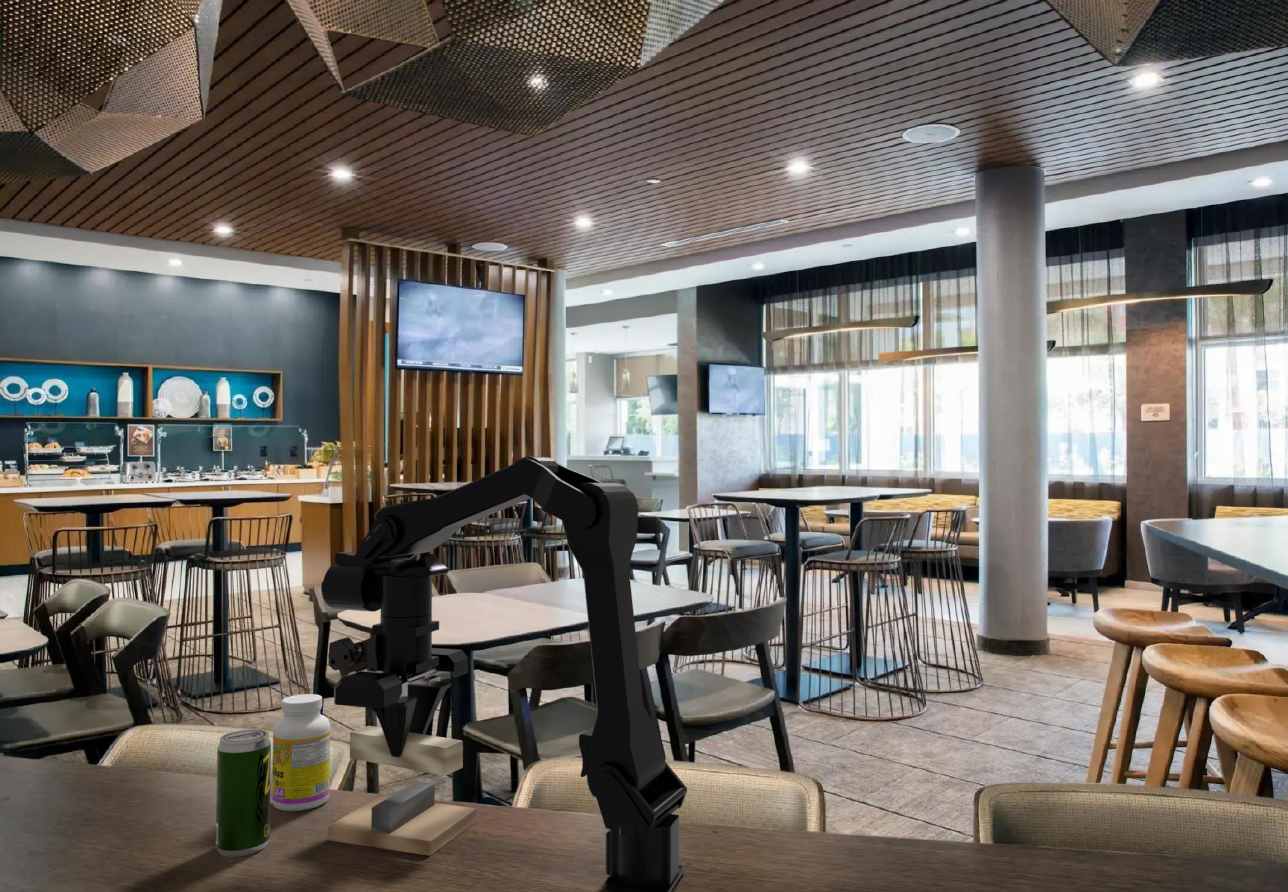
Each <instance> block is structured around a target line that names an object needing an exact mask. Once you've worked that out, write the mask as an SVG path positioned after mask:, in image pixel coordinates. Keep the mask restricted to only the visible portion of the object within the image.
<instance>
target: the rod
mask: <svg viewBox="0 0 1288 892" xmlns="http://www.w3.org/2000/svg"><path fill="white" fill-rule="evenodd" d="M463 743H464V741H463V740H461V739H455V738H448V737H442V736H436V735H430V734H429V735H428V734H425V735H424V734H418V733H412V732H408V735H407V739H406V743H405V746H404V749H403V752H402V755H401V756H400V757H393V756H391V753H390V750H389V748H388V745H387V742H386V739H385V736H384V733H383V730H382V727H381V726H373V725H367V726H363V727H361V728H358V729H355V730H352V731H349V759H352V760H357V761H363V762H369V763H374V764H380V765H385V766H390V767H391V766H392V767H396V768H401V769H408V770H413V771H418V772H424V773H429V774H434V775H441V776H444V777H445V776H448V775H450V774H453V773H454V772H457V771H458V770H460V769H461V770H462V769H463V768H464V766H463V765H464V763H463V761H464V757H463V756H464V745H463Z"/></svg>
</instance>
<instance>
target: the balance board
mask: <svg viewBox="0 0 1288 892" xmlns="http://www.w3.org/2000/svg"><path fill="white" fill-rule="evenodd" d="M435 784H436V783H433V782H427V781H418V780H417V781H415V782H413V783H411V784H410V785H408V786H406V787H405V788H403V789H401V790H399V791H398V792H396V793H394V794H393V795H391V796H383V795H382V796H383V797H380V796H379V797H377V798H375V799H373V800H372V801H370V802H368V803H367V804H364V805H363V806H361V807H359V808H358V809H355V810H354V811H353V812H351V813H349V814H347V815H345V816H343V817H342V818H341V819H339V820H336V821H335V822H333V823H332V824H329V825H328V826H327V841H331V842H337V843H343V844H349V845H357V846H363V847H370V848H377V849H383V850H391V851H396V852H404V853H411V854H416V855H417V854H418V855H424V856H432V855H434V854H435V853H436V852H437V851H438V850H440V849H441V848H443V847H444V846H445V845H447V844H449V842H451V841H452V840H453V839H455V838H456V837H458V836H459V835H460V834H461V833H463V832H465V831H466V830H467V829H469V828H470V827H472V826H473V825H474V824H475V823H476V822H477V818H478V817H477V813H478V812H477V808H476V807H468V806H460V805H453V804H444V803H437V802H436V799H435V797H436V796H435V794H436V793H435V792H436V791H435V787H436V786H435Z"/></svg>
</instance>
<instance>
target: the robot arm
mask: <svg viewBox="0 0 1288 892" xmlns="http://www.w3.org/2000/svg"><path fill="white" fill-rule="evenodd" d="M529 499H532V501H533V502H535V503H536V504H537V505H538V506H539V507H540V508H541V509H542V510H543V511H545V512H546V513H548V514H550V515H551V516H554V517H555V518H557V519H559V520H560V521H561V523H562V527H563V531H564V536H565V538H566V541H567V547H568V548H569V551H571V553H572V555H573V557H574V559H575V561H576V563H577V564H578V566H579V567H580V569H581V571H582V575H583V585H584V593H585V605H586V611H587V612H586V613H587V622H588V623H587V624H588V634H589V635H588V636H589V642H590V652H591V654H590V655H591V663H592V672H593V682H594V683H593V684H594V692H595V703H596V716H595V717H596V718H595V721H594V724H593V726H592V727H591V728H590V729H588V730H586V731H584V732H582V733H580V734H579V736H578V746H579V751H580V753H581V759H582V760H581V761H582V766H581V767H582V768H581V772H580V777H581V778H585V777H586V783H587V786H588V787H587V788H588V790H589V792H590V794H591V796H592V797H593V798H596V801H597V804H598V808H599V812H600V815H601V818H602V821H603V824H604V827H605V829H607V832H605V873H606V875H607V876H608V877H607V878H606V880H604V883H603V887H604V889H606V890H611V891H619V892H672V890H673V889H674V888H675V886H676V885H677V883H678V882H679V880H680V879H681V877H682V875H683V874H684V873H685V867H684V865H682V864H680V857H679V856H680V831H679V830H680V826H679V825H680V816H679V814H673V813H675V812H676V811H677V810H678V809H681V808H682V807H683V805H684V802H685V800H686V796H687V794H688V788H687V786H686V785H685V784H684V782H683V781H682V780H681V779H680V778H679V777H678V775H677V773H676V772H674V770H673V769H672V768H671V767H670V765H669V764H668V763H667V762H666V757H665V755H664V749H663V746H662V742H661V740H660V735H659V731H658V728H657V726H656V725H655V723H654V722H653V720H652V717H651V716H650V715H649V713H648V711H647V709H646V708H645V704H644V699H643V698H644V697H643V691H642V690H643V689H642V682H641V681H642V680H641V672H640V671H641V670H640V669H641V668H640V662H639V661H640V660H639V653H638V643H637V634H636V633H637V631H636V624H635V623H636V622H635V613H634V603H633V595H632V585H631V576H630V575H631V574H630V564H631V560H632V557H633V553H634V550H635V546H636V543H637V537H638V524H639V523H638V522H639V504H638V500H637V497H636V496H635V494H634V493H633V491H631V490H630V489H629V488H627V487H626V486H625V485H623V484H621V483H619V482H602V481H600V480H599V479H596V478H594V477H591V476H589V475H587V474H583V473H582V472H578V471H576V470H574V469H572V468H569V467H567V466H565V465H563V464H561V463H560V462H557V461H555V460H554V459H552V458H551V457H548V456H547V457H546V456H530V455H528V456H524V457H521V458H519V459H518V460H517V461H516V462H514V463H512V464H510V465H508V466H506V467H503V468H500V469H498V470H496V471H494V472H491V473H489V474H487V475H484V476H483V477H482V476H481V477H480V478H477V479H475V480H473V481H470V482H468V483H466V484H464V485H461V486H458V487H456V488H454V489H452V490H450V491H447V492H445V493H443V494H441V495H438V496H435V497H431V498H430V497H429V498H423V499H418V500H412V501H405V502H401V503H395V504H390V505H386V506H383V507H381V508H380V509H378V510H377V511H376V513H374V519H373V522H372V526H371V527H370V529H369V530H368V533H367V534H366V536H365V537H364V539H363V541H362V543H361V544H360V546H359V547H358V549H357V551H356V552H355V551H342V552H336V553H334V563H333V564H331V566H329V567H328V569H327V570H326V572H325V575H324V576H323V580H322V581H321V586H320V589H321V590H320V591H321V595H322V599H323V601H324V603H325V604H326V605H327V606H328V607H329V608H331V609H335V610H347V611H349V610H350V611H359V612H361V611H362V612H372V613H373V612H378V611H379V610H380V622H379V623H376V624H372V627H371V628H370V630H369V631H370V632H369V634H370V636H369V638H367V639H364V640H361V641H357V642H354V641H353V640H352V639H351V637H344V638H340V639H337V640H335V641H332V642H329V646H328V654H327V659H328V660H327V661H328V662H327V664H328V666H329V667H330V668H331V669H332V670H333V671H339V674H340V679H339V680H338V681H337V682H336V683H335V684H334V686H333V696H334V697H333V704H334V705H335V706H343V707H344V706H345V707H346V706H347V707H356V708H357V707H358V708H368V709H369V708H370V709H371V710H372V711H373V712H374V714H375V715H376V718H377V720H378V722H379V724H380V728H382V730H383V733H384V736H385V739H386V742H387V745H388V748H389V750H390V753H391V756H393V757H400V756H401V755H402V752H403V749H404V746H405V743H406V739H407V735H408V732H412V733H418V734H424V735H426V732H427V731H428V728H429V726H430V724H431V722H432V721H433V717H434V715H435V713H436V711H437V709H438V707H439V706H440V704H441V701H442V699H443V698H444V696H445V693H446V692H447V690H448V688H451V682H449V681H442V680H441V675H439V672H444V673H445V672H446V673H450V674H451V676H452V677H453V678H459V677H462V676H463V675H466V674H468V673H469V657H468V656H467V654H466V653H465V652H464V650H462V649H453V648H439V647H438V648H437V647H435V648H434V647H433V645H432V644H433V643H432V642H433V639H432V638H433V635H432V634H433V632H436V631H439V630H440V621H439V620H433V577H435V576H441V575H443V576H444V575H447V574H448V573H449V568H448V567H447V566H446V565H445V564H444V563H443V562H441V561H440V560H439V559H438V558H437V556H436V554H434V553H430V554H424V553H429V552H431V551H433V550H435V549H436V548H438V547H440V546H441V545H442V544H444V543H445V542H447V541H448V540H450V539H451V538H452V536H453V535H454V534H455V533H456V532H457V531H458V530H459V529H461V528H463V527H464V526H466V525H468V524H471V523H474V522H477V521H479V520H480V519H483V518H486V517H488V516H491V515H493V514H495V513H499V512H500V511H503V510H505V509H508V508H510V507H512V506H515V505H518V504H520V503H523V502H525V501H528V500H529ZM418 554H422V555H421V556H420V557H419V558H418V559H417V560H415V559H413V558H415V556H417V555H418ZM392 562H395V563H394V564H393V565H392ZM365 670H366V671H365ZM350 673H352V674H350Z"/></svg>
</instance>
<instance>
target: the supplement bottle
mask: <svg viewBox="0 0 1288 892" xmlns="http://www.w3.org/2000/svg"><path fill="white" fill-rule="evenodd" d="M322 707H323V697H322V696H321V695H319V694H315V693H310V694H309V693H305V694H302V693H301V694H295V695H290V696H287V697H284V698H283V699H282V700H281V711H282V714H283V718H281V719H279V720H278V721H277V722H276V723H274V724H275V725H274V726H273V729H272V765H271V766H272V767H271V768H272V769H271V771H272V772H271V773H272V774H271V776H272V778H271V787H272V788H271V803H272V806H273V807H274V808H276V809H277V810H279V811H285V812H300V811H301V812H302V811H308V810H311V809H314V808H318V807H320V806H321V805H324V804H325V802H326V801H328V799H329V797H330V773H331V772H330V770H331V769H330V764H331V763H330V762H331V761H330V760H331V759H330V758H331V757H330V756H331V755H330V754H331V753H330V751H331V750H330V748H331V746H330V745H331V744H330V743H331V724H330V720H329V719H328V718H327V717H326V716H325V715H322V714H321V709H322Z"/></svg>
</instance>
